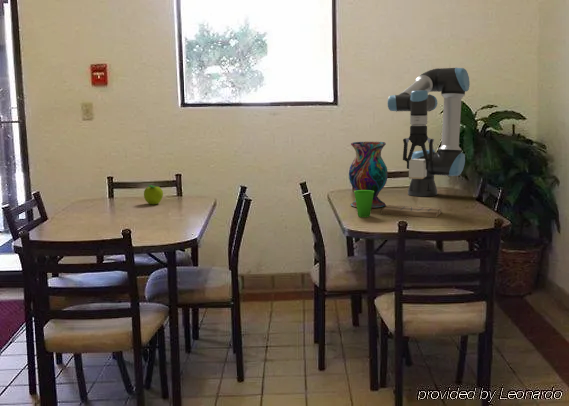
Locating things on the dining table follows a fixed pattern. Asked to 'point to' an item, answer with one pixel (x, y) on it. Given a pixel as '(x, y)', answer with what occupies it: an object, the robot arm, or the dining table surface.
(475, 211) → the dining table surface
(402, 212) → the board
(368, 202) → the cup
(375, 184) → the vase
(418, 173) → the white cube
